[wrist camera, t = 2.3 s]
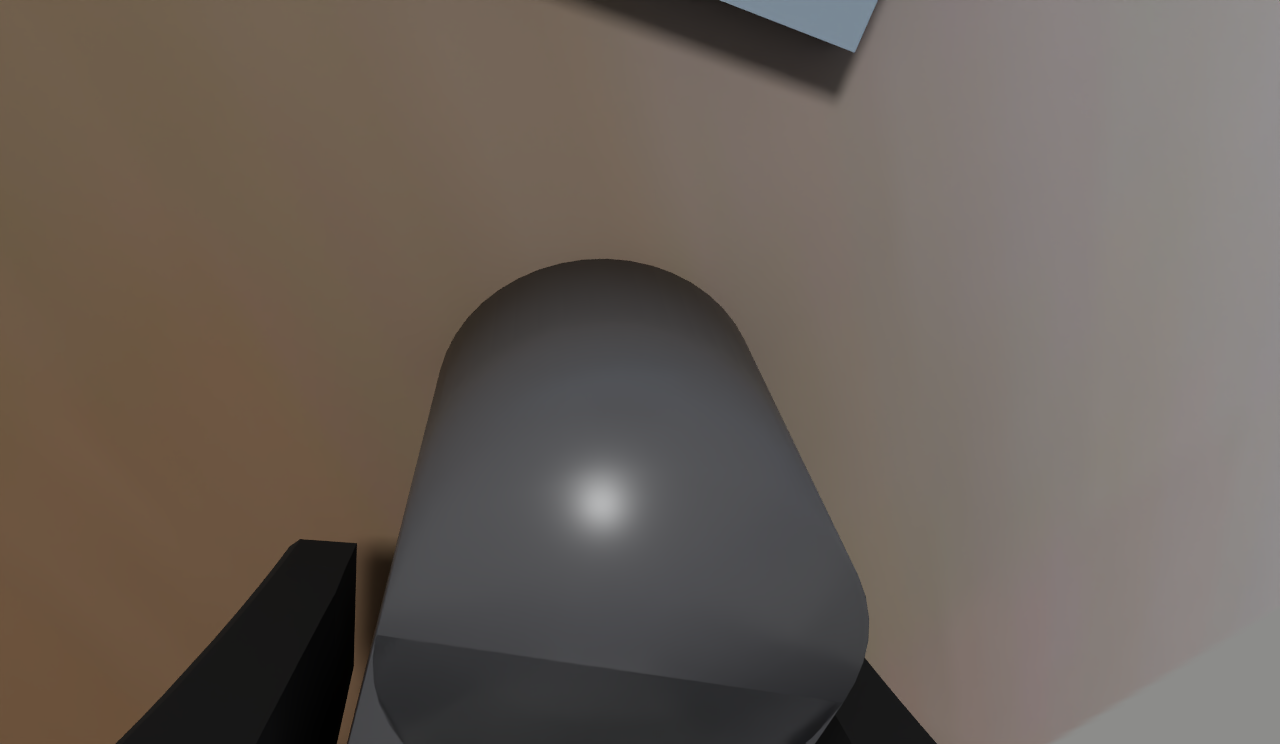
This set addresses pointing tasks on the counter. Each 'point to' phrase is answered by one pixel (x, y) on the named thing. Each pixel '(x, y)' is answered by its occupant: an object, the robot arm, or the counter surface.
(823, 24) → the rubber mat
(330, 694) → the robot arm
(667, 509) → the connector
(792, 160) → the counter surface
